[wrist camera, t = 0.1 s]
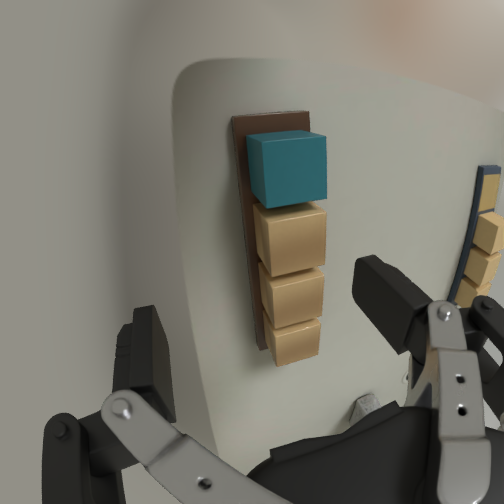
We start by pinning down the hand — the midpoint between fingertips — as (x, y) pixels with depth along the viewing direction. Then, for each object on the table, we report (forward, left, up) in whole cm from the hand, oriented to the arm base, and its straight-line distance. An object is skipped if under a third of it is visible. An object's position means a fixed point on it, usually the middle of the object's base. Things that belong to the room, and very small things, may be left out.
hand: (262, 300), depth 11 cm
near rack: (+6, +5, -14) cm, 16 cm away
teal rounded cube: (-2, +5, -13) cm, 14 cm away
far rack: (+12, +38, -14) cm, 42 cm away
